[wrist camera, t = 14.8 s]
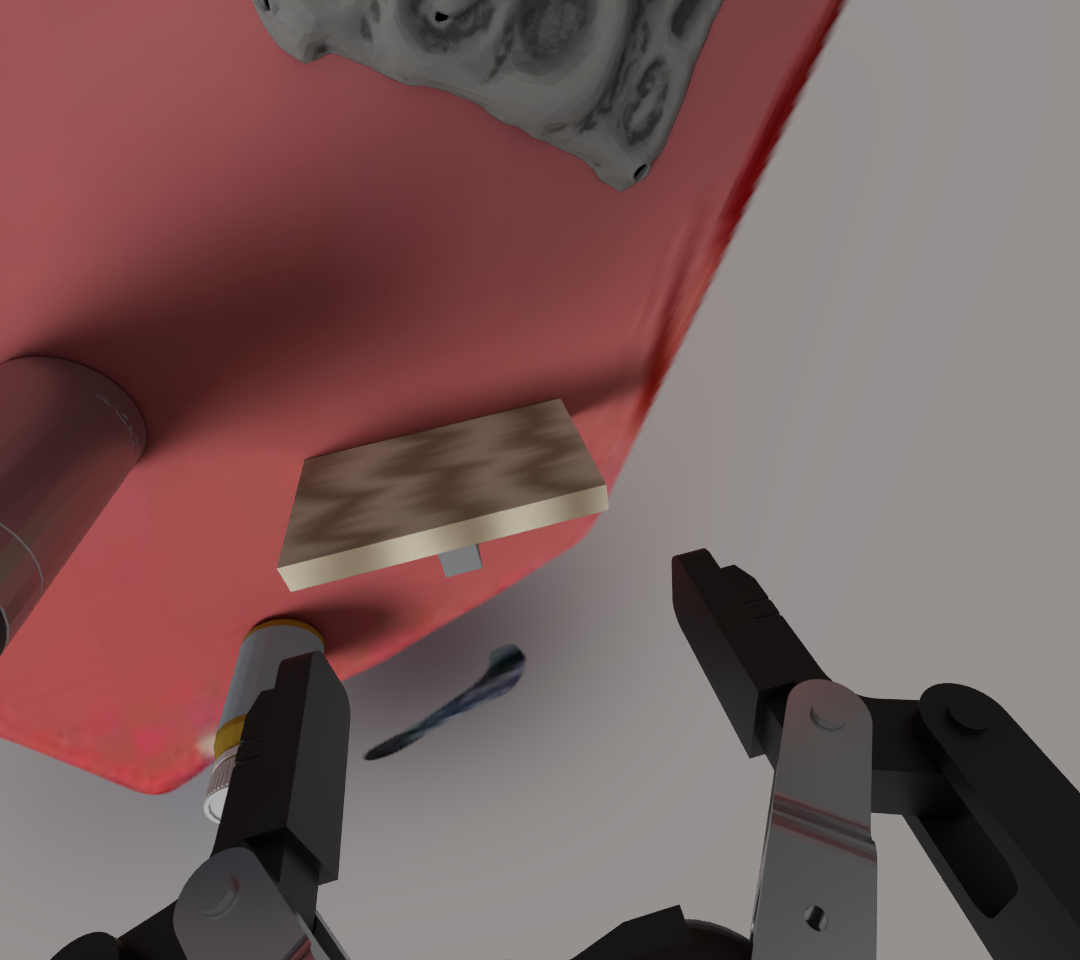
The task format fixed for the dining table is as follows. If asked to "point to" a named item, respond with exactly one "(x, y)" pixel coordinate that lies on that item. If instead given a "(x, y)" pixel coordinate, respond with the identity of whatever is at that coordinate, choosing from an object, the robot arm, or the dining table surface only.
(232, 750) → the bottle
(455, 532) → the wall board
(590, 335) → the dining table surface
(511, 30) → the wall plaque
